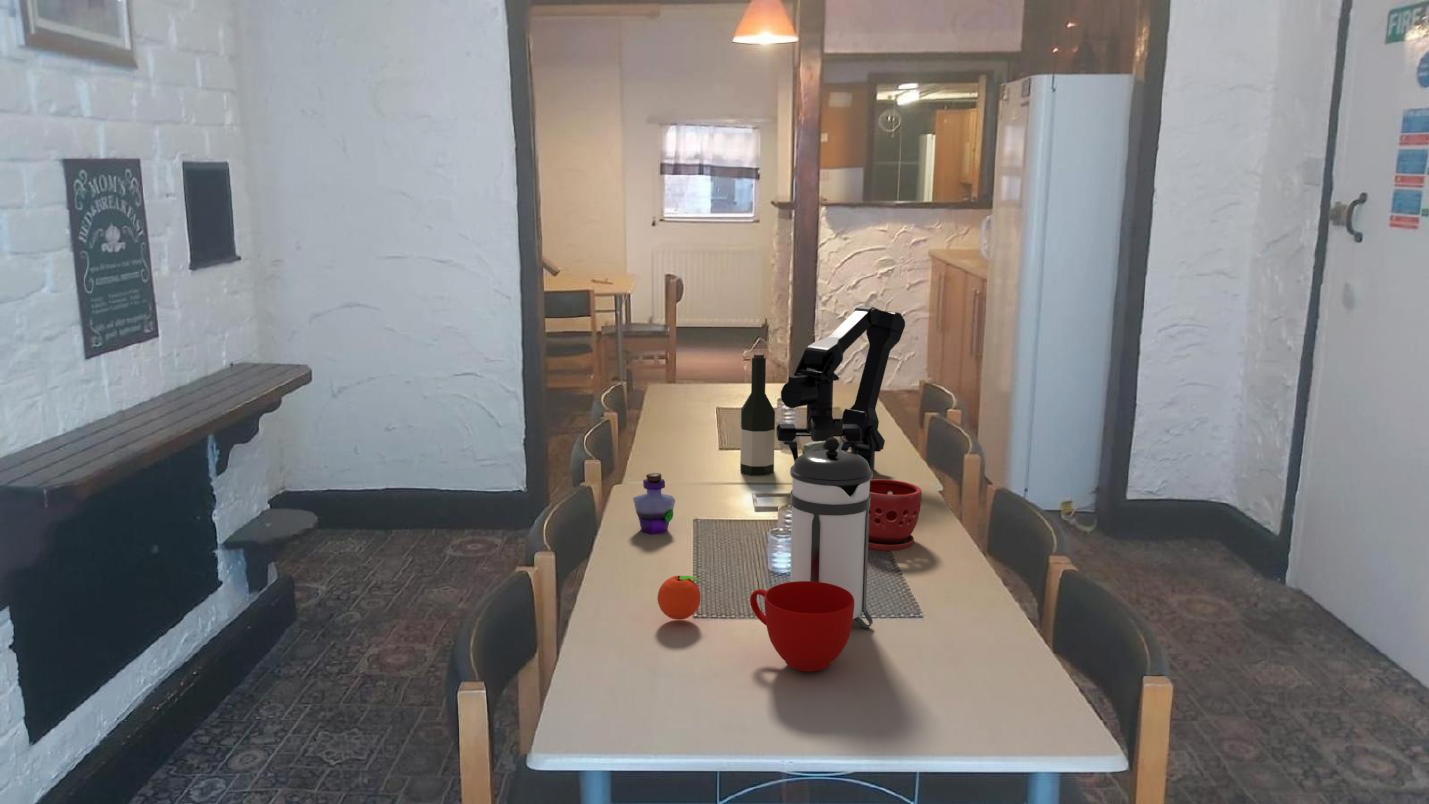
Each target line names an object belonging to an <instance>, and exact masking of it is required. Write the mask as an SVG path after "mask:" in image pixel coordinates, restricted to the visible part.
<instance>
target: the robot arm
mask: <svg viewBox="0 0 1429 804" xmlns="http://www.w3.org/2000/svg"><path fill="white" fill-rule="evenodd" d="M905 327H906V320H905V318H904V317H903V315H902V314H901V313H900V312H897V311H896V312H895V311H886V310H881V309H879V308H876V307H874V306H865V305H859V306H856V307H855V308H854V311H853V313H852V314H850V315H849V316H848V317H847V318H846V319H845V320H844V321H843V322H842V323H841V324H840V325H838V326H837V328H836V329H835V330H834V331H833V332H832V333H831V334H829V335H828V336H827V337H825V338H822V339H818V340H816V341H814V342H813V343H810V344H809V345H808V346H807V347H806V348H805V349H804V351H803V354H802V356H801V358H800V361H799V362H798V364H797V367H796V369H795V371H794V373H793V375H791V376H788V380H787V381H788V382H786V383H784V385H783V386H782V388H781V390H780V399H781V401H782V403H783V404H784V406H786V407H787V408H788V409H795V408H796V409H797V408H801V407H805V406H806V424H805V426H806V427H796V426H795V424H794V423H778V425H777V426H776V431H775V435H776V438H777V441H779V442H782V443H783V444H784V445H787V446H788V447H789V450H790V452H791V454H792V458H793V461H794V463H795V461H796V459H797V458H798V457H799V452H798V442H797V437H809V438H811V441H815V442H818V441H825V442H826V440H827V439H828V438H831V437H833V438H836V437H838V438H839V440H838V441H839V444H840V445H839V447H838V449H837V450H843V451H849V449H850V452H852V453H855V454H858V455H860V456H861V457H863V458H864V459H865V460H866V461H867V462H868V464H869V467H870V469H871V470H872V471H873V472H874V471H875V466H876V465H875V461H876V460H875V459H876V458H875V457H876V453H877V452H881V451H882V450H884V446H885V444H886V443H885V442H886V441H885V438H884V437H883V436H882V434H881V433H880V431H879V430H878V429H879V424H880V423H879V422H880V421H879V418H878V414H877V411H876V408H877V403H878V399H879V396H880V392H881V388H882V384H883V380H884V376H885V372H886V369H887V365H888V360H889V356H890V352H891V350H892V349H893V348H894V347H895V346H896V345H897V344H898V343H899V342H900V341H901V339H902V336H903V334H904V333H903V332H904V331H905ZM865 332H866V333H865ZM864 333H865V334H866V337H867V340H868V341H867V342H868V344H869V345H868V347H869V348H868V351H867V355H866V359H865V362H864V367H863V370H862V374H861V377H860V382H859V386H858V389H857V393H856V397H855V401H854V404H853V405H852V406H851V407H850V408H845V409H844V410H843V412H842V418H834V417H833V404H834V403H833V401H834V400H833V399H834V382H836V381H839V380H840V377H839V376H838V374H836V373H835V371H836V370H837V369H838V368H839V366H840V364H842V362H843V361H844V353H845V352H846V351H847V349H849V348H850V347H851V346H852V345H853V344H854V343H855V342H856V341H857V339H859V338H860V337H861V336H862V335H863V334H864Z"/></svg>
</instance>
